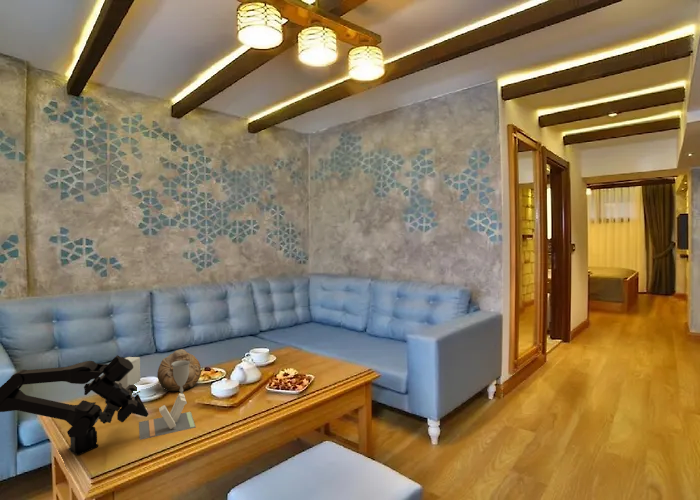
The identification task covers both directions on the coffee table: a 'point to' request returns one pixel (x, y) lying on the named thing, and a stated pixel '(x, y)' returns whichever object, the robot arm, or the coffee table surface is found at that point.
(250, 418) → the coffee table surface
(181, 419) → the slat rack base
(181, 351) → the buddha statue
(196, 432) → the coffee table surface
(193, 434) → the coffee table surface
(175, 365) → the chalice
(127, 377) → the skincare box
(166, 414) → the handle
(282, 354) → the coffee table surface
